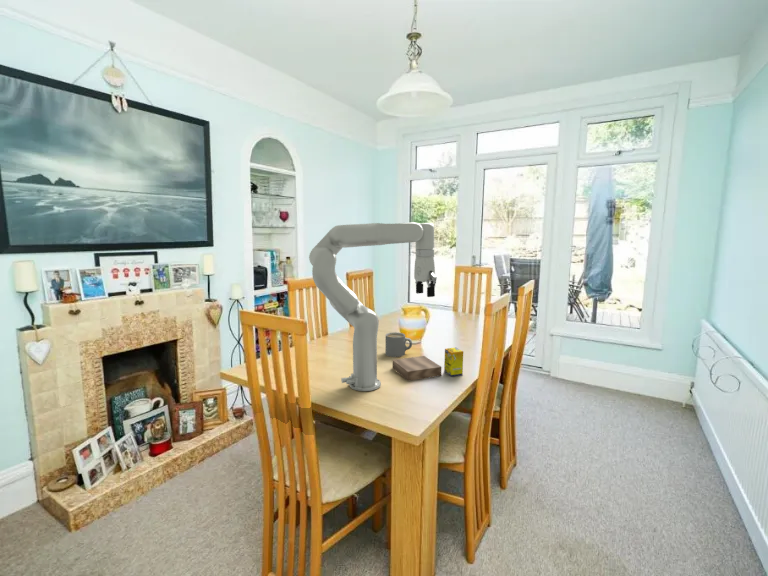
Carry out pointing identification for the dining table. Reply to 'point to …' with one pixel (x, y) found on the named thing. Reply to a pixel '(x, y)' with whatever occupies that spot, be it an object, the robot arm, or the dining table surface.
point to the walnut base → (416, 368)
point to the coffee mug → (396, 344)
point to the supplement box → (453, 362)
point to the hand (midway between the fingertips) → (425, 294)
